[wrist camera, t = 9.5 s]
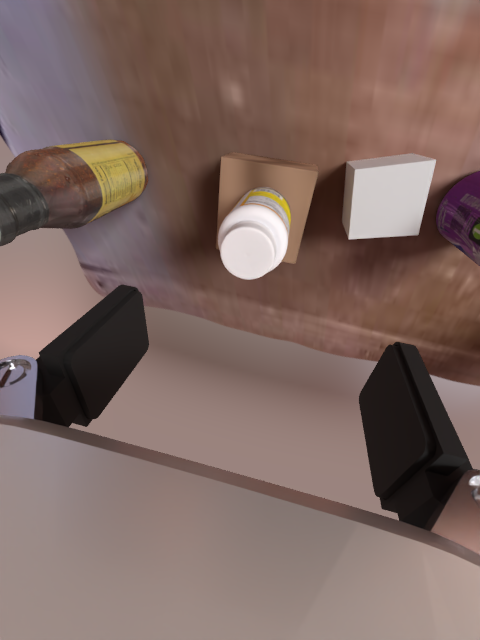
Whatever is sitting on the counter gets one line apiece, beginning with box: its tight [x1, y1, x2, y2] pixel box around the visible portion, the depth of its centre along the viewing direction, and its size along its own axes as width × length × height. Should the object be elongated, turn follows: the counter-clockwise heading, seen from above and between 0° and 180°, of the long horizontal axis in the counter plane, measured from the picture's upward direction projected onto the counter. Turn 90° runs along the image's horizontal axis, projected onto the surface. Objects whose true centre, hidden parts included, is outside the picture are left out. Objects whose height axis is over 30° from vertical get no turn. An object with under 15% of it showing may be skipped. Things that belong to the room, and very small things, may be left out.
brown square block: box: [216, 152, 319, 264], centre depth 29 cm, size 9×9×5 cm
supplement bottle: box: [218, 187, 291, 279], centre depth 23 cm, size 6×6×10 cm
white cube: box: [342, 153, 436, 239], centre depth 26 cm, size 6×6×6 cm
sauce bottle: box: [0, 140, 148, 246], centre depth 24 cm, size 7×6×20 cm
